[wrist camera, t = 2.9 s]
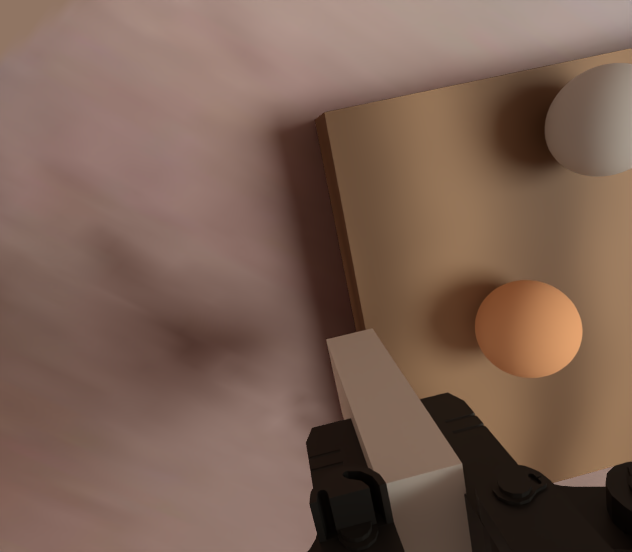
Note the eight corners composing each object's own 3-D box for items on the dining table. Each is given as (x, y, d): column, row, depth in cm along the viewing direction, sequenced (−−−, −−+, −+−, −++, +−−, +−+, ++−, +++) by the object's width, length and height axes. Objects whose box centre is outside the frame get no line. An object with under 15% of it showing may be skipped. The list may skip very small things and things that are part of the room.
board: (385, 482, 21) (402, 524, 18) (314, 119, 16) (324, 112, 14) (780, 375, 22) (844, 402, 20) (808, 16, 18) (895, -7, 15)
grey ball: (527, 184, 15) (595, 189, 12) (519, 84, 14) (590, 63, 11) (614, 164, 16) (702, 164, 12) (611, 65, 15) (706, 39, 12)
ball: (464, 362, 17) (510, 407, 14) (453, 281, 16) (500, 310, 13) (545, 341, 17) (608, 381, 14) (539, 261, 16) (605, 284, 13)
